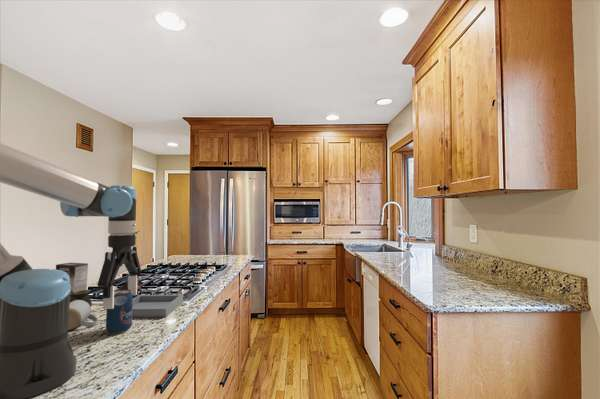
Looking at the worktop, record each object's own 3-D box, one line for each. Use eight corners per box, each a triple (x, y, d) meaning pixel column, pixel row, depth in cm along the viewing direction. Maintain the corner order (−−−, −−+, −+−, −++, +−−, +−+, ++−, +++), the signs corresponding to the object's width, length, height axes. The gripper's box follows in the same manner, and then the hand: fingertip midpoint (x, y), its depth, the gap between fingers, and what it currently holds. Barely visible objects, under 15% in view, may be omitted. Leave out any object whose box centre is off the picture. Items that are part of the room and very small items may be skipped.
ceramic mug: (52, 333, 89) (53, 307, 90) (64, 323, 97) (65, 300, 97) (92, 329, 93) (94, 305, 93) (101, 320, 100) (102, 298, 101)
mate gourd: (91, 314, 106) (92, 287, 106) (64, 319, 101) (65, 290, 102) (92, 309, 112) (92, 283, 112) (66, 313, 107) (67, 286, 108)
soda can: (126, 334, 89) (127, 294, 89) (101, 335, 88) (102, 295, 88) (135, 325, 96) (136, 288, 96) (112, 326, 95) (113, 289, 95)
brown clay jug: (140, 302, 122) (129, 286, 120) (119, 312, 122) (108, 297, 120) (151, 288, 134) (141, 273, 132) (132, 297, 134) (122, 282, 132)
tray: (165, 317, 103) (165, 308, 103) (113, 318, 102) (113, 309, 102) (183, 301, 121) (183, 294, 121) (138, 302, 120) (138, 295, 120)
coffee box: (53, 305, 116) (54, 264, 117) (68, 300, 123) (69, 262, 123) (72, 306, 115) (74, 265, 116) (87, 301, 121) (88, 262, 122)
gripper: (111, 237, 81) (110, 315, 80) (151, 231, 106) (151, 290, 105) (83, 238, 81) (81, 315, 80) (130, 231, 106) (129, 290, 105)
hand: (121, 301), depth 93 cm, fingers open, 13 cm apart
